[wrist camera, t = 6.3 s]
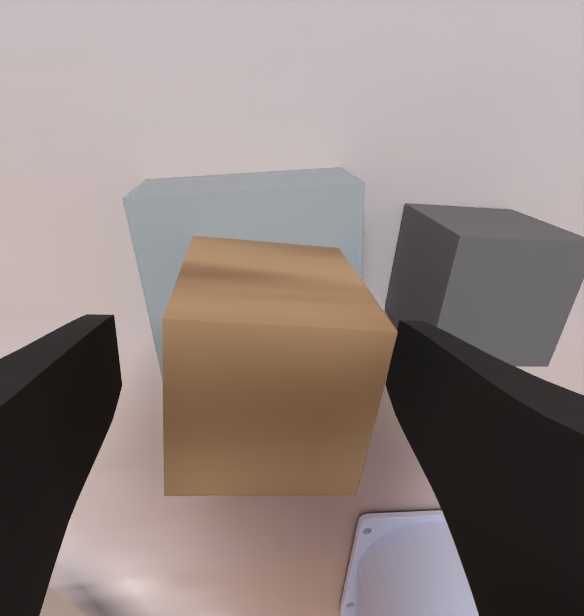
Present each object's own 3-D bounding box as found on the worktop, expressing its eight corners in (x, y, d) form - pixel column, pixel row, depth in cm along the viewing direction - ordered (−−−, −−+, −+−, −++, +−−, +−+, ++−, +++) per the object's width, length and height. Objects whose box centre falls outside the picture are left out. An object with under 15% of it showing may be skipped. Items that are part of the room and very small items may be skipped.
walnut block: (318, 367, 15) (355, 494, 10) (190, 362, 14) (164, 496, 9) (338, 247, 13) (397, 331, 8) (193, 235, 12) (162, 318, 8)
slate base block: (338, 331, 19) (358, 376, 15) (178, 346, 18) (166, 397, 15) (339, 166, 15) (364, 182, 12) (146, 178, 15) (122, 198, 12)
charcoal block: (481, 310, 19) (547, 366, 15) (385, 308, 18) (426, 366, 14) (512, 209, 17) (598, 242, 13) (405, 203, 16) (460, 235, 12)
